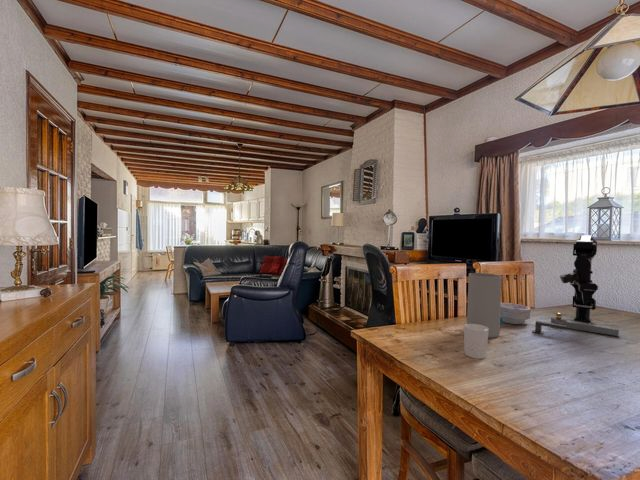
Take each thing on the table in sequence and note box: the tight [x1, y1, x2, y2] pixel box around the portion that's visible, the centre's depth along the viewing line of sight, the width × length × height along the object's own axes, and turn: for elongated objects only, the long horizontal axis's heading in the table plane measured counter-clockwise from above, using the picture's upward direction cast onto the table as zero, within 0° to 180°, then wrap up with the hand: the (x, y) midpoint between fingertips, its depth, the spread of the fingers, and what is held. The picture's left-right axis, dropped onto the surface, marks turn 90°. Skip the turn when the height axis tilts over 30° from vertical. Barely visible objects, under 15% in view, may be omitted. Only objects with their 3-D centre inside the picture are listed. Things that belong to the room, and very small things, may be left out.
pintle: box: [554, 311, 564, 319], centre depth 157 cm, size 7×7×6 cm
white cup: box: [463, 323, 489, 360], centre depth 118 cm, size 8×8×10 cm
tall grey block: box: [466, 272, 503, 339], centre depth 143 cm, size 12×12×25 cm
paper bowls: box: [500, 302, 531, 325], centre depth 163 cm, size 15×15×8 cm
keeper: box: [531, 320, 567, 335], centre depth 144 cm, size 4×12×5 cm, turn 50°
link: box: [550, 316, 620, 337], centre depth 151 cm, size 24×6×3 cm, turn 50°
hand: (581, 301), depth 155 cm, fingers open, 9 cm apart
